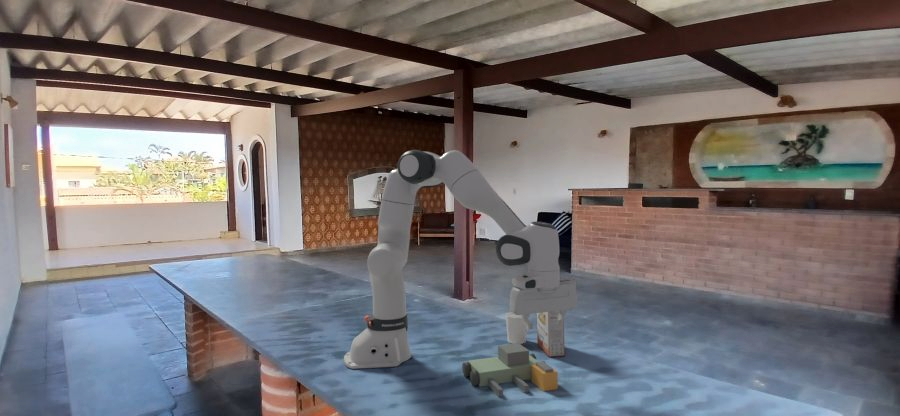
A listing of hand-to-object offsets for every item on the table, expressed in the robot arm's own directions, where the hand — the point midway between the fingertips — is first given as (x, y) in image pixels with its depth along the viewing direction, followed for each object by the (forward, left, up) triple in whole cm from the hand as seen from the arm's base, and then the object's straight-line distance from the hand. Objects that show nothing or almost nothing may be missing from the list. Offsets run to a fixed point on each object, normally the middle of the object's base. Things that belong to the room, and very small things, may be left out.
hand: (544, 327), depth 132 cm
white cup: (+9, +37, -17) cm, 42 cm away
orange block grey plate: (0, 0, -17) cm, 17 cm away
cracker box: (+16, +25, -17) cm, 34 cm away
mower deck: (-8, +6, -17) cm, 20 cm away
